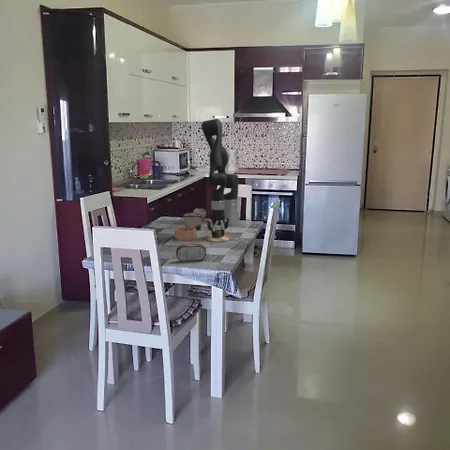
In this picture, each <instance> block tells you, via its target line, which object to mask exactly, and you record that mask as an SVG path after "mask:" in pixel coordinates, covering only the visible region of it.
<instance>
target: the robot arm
mask: <svg viewBox="0 0 450 450" xmlns="http://www.w3.org/2000/svg"><path fill="white" fill-rule="evenodd" d="M201 129H202V133H203V135H204V138H205V140H206V142H207V144H208V146H209V151H210V152H209V173H208V178H207V182H208V185H209V186H212V187H214V186H217V187H218V188H217V189H216V188H215V189H212V190H211V203H210V208H211V209H210V210H211V211H210V212H211V213H210V215H211V217H210V219H209V220H208V219H206V225H207V230H208V231H210V232H211V234H210V235H212V237H213V238H214V237H215V230H216V228H217V227H218V226H220V230H221V236H224V235H225V234H226V233H225V231H226V229H228V228H229V227H235V226H238V225H239V224H240V215H239V214H240V213H239V212H240V211H239V209H238V203H239V202H238V195H239V181H240V179H239V176H238V175H237V174H236V173H227V172H226V168H227V165H228V163H229V159H230V158H229V154H228V151H227V148H225V147H224V145H223V125H222V122H221V120H220V119H219V118H214V119H209V120H208V119H207V120H204V121H202V123H201ZM214 136H215V138H214ZM216 171H217V172H216ZM225 189H230V191H229V192H227V193H225Z"/></svg>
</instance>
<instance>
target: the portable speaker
mask: <svg viewBox="0 0 450 450" xmlns="http://www.w3.org/2000/svg"><path fill="white" fill-rule="evenodd" d="M175 255H176V257H177V259H178V260H179V261H181V262H184V263H185V261H186V262H201V261H203V260H204V259H206V256H207V249H206V247H205V246H204V245H203V244H201V243H194V244H193V243H190V244H189V243H188V244H187V243H184V244H180V245H179V246H178V247H177V248H176V250H175Z"/></svg>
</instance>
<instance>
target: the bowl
mask: <svg viewBox="0 0 450 450" xmlns="http://www.w3.org/2000/svg"><path fill="white" fill-rule="evenodd" d="M174 238H175V240H178V241H193V240H195V239H197V231H196V228H194V227H188V226H185V225H184V226H177V227H176V228H174Z"/></svg>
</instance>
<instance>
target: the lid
mask: <svg viewBox="0 0 450 450" xmlns="http://www.w3.org/2000/svg"><path fill="white" fill-rule="evenodd" d="M226 234H227V233H225V235H224V236H221V229H215V237H214V238H213V237H212V235H211V234H208V235H207V234H206V235H205V236H206V237H205V239H206V240H207V241H211V242H223V243H226V242H225V241H229V240H230V239H231V237H232V236H231V235H229V234H227V235H226ZM229 242H230V241H229Z"/></svg>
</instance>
